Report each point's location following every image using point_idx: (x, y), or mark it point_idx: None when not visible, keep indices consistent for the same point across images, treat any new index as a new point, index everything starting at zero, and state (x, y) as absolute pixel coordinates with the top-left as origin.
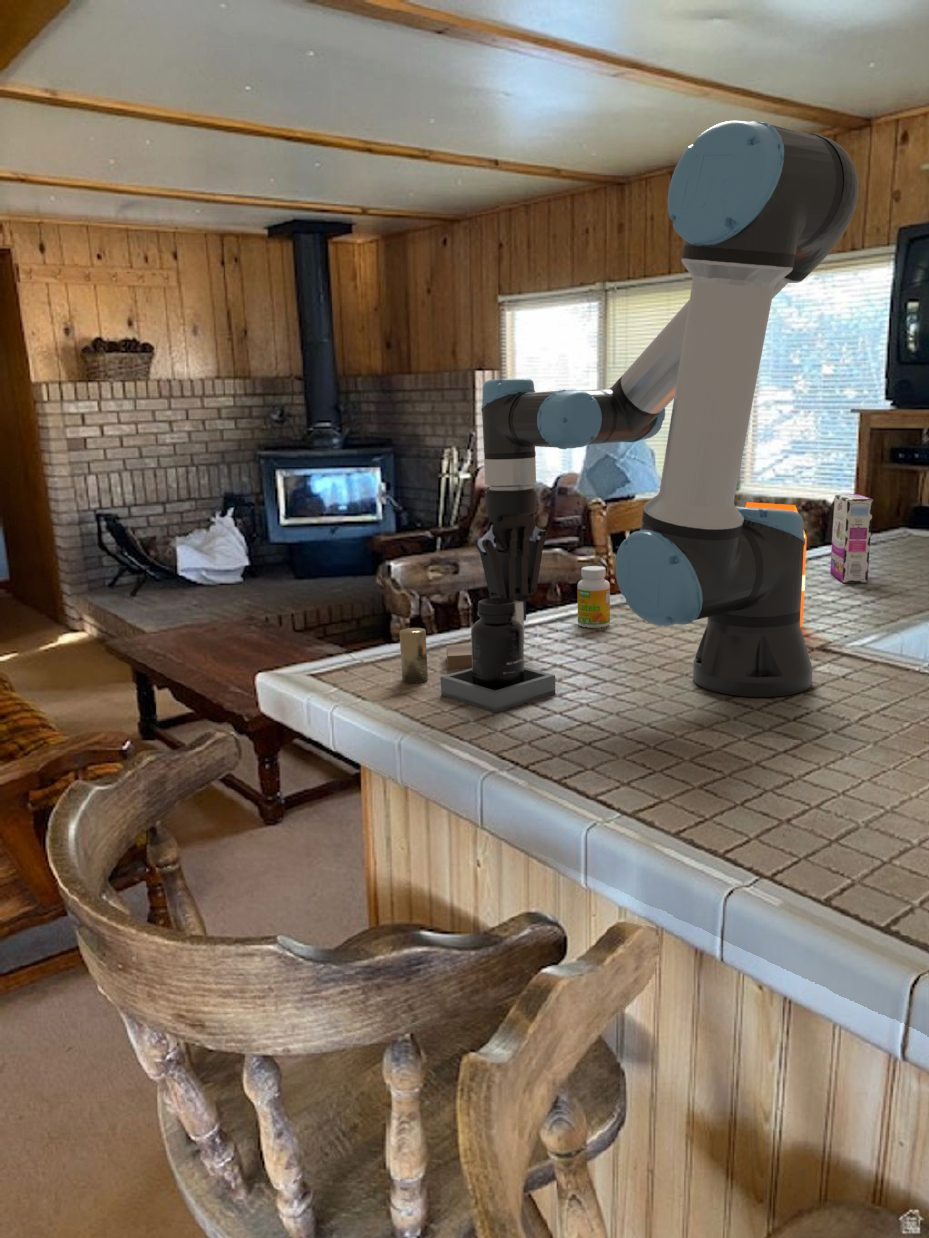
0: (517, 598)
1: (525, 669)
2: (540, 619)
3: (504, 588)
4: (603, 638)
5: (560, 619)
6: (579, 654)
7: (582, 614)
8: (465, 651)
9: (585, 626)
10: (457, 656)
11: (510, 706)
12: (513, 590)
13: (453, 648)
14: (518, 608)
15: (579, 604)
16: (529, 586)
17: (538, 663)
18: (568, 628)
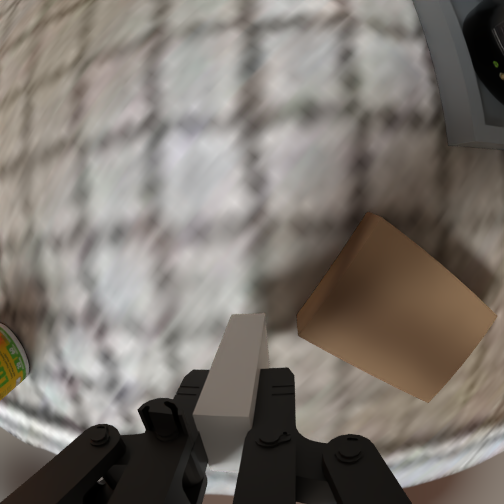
0: (200, 451)
1: (459, 25)
2: None
3: (345, 497)
4: (21, 262)
5: (46, 415)
6: (124, 177)
7: (10, 367)
8: (450, 326)
9: (22, 349)
10: (483, 304)
11: None
12: (253, 481)
13: (442, 370)
14: (235, 396)
15: (2, 385)
16: (109, 467)
17: (279, 178)
18: (48, 372)
